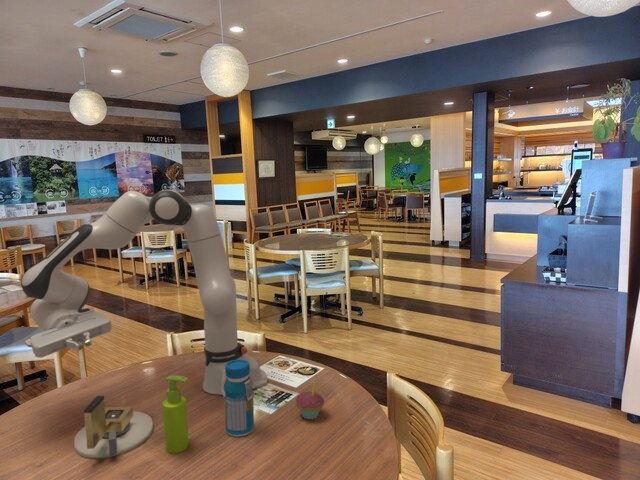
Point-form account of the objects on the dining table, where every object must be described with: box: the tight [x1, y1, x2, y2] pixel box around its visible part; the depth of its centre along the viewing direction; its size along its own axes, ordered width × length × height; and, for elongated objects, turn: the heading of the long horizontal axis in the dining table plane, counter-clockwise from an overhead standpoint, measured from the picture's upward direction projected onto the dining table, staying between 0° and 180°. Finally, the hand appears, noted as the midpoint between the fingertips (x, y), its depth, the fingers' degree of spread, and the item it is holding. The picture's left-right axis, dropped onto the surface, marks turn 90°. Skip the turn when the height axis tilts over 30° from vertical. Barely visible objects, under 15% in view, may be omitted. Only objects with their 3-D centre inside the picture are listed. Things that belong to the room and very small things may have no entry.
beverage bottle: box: [223, 359, 255, 438], centre depth 122 cm, size 8×8×20 cm
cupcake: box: [295, 379, 325, 420], centre depth 129 cm, size 9×8×12 cm
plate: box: [73, 411, 154, 459], centre depth 119 cm, size 20×22×6 cm
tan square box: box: [102, 411, 130, 439], centre depth 120 cm, size 8×8×5 cm
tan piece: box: [83, 395, 134, 449], centre depth 115 cm, size 17×8×12 cm, turn 2°
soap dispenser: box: [162, 375, 189, 454], centre depth 114 cm, size 6×7×20 cm
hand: (84, 345), depth 117 cm, fingers closed
